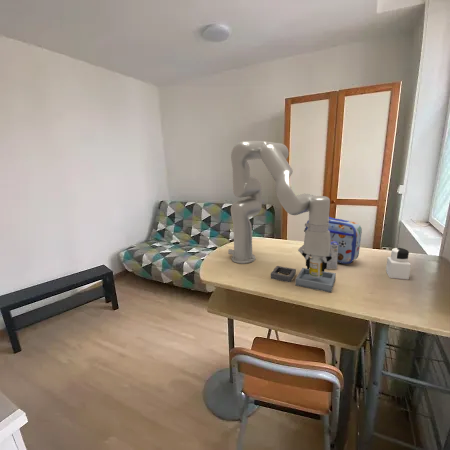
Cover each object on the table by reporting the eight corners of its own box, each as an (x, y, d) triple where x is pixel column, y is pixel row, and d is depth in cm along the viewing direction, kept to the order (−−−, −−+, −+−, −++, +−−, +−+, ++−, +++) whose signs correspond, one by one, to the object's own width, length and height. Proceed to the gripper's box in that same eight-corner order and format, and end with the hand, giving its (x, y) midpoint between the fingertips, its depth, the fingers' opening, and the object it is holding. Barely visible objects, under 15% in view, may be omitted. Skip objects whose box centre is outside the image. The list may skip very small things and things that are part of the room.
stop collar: (270, 278, 116) (270, 273, 115) (276, 270, 123) (276, 265, 123) (290, 282, 111) (290, 277, 111) (295, 274, 119) (296, 269, 118)
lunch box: (300, 254, 142) (301, 214, 136) (310, 249, 148) (312, 211, 143) (352, 268, 122) (356, 223, 116) (361, 262, 129) (365, 218, 123)
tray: (295, 285, 109) (295, 278, 108) (302, 273, 119) (302, 267, 118) (331, 292, 102) (331, 285, 101) (335, 279, 112) (335, 273, 111)
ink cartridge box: (335, 264, 127) (337, 236, 123) (337, 269, 122) (339, 240, 118) (313, 264, 129) (315, 236, 125) (315, 268, 124) (316, 239, 120)
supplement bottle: (312, 278, 107) (312, 256, 105) (307, 273, 112) (307, 252, 110) (325, 277, 107) (325, 255, 105) (319, 272, 113) (319, 251, 110)
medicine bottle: (404, 272, 116) (407, 247, 113) (409, 279, 109) (413, 253, 106) (385, 270, 118) (388, 245, 115) (389, 278, 112) (392, 251, 108)
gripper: (294, 227, 105) (293, 268, 110) (340, 232, 97) (336, 276, 102) (299, 223, 112) (297, 262, 116) (342, 227, 103) (339, 269, 108)
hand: (316, 268), depth 109 cm, fingers closed on supplement bottle, 5 cm apart
